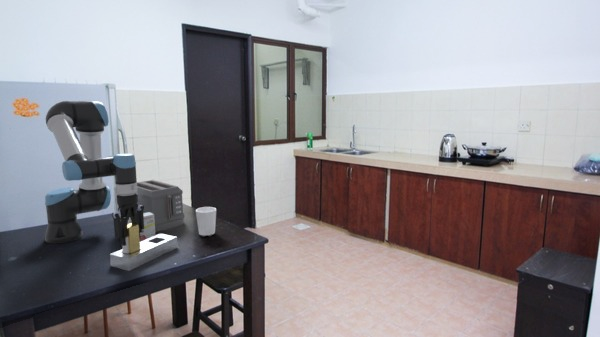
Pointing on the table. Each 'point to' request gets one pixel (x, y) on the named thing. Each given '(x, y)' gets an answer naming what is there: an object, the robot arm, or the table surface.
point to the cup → (206, 220)
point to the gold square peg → (133, 238)
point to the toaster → (161, 203)
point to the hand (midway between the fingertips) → (131, 250)
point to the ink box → (148, 226)
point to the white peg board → (144, 252)
